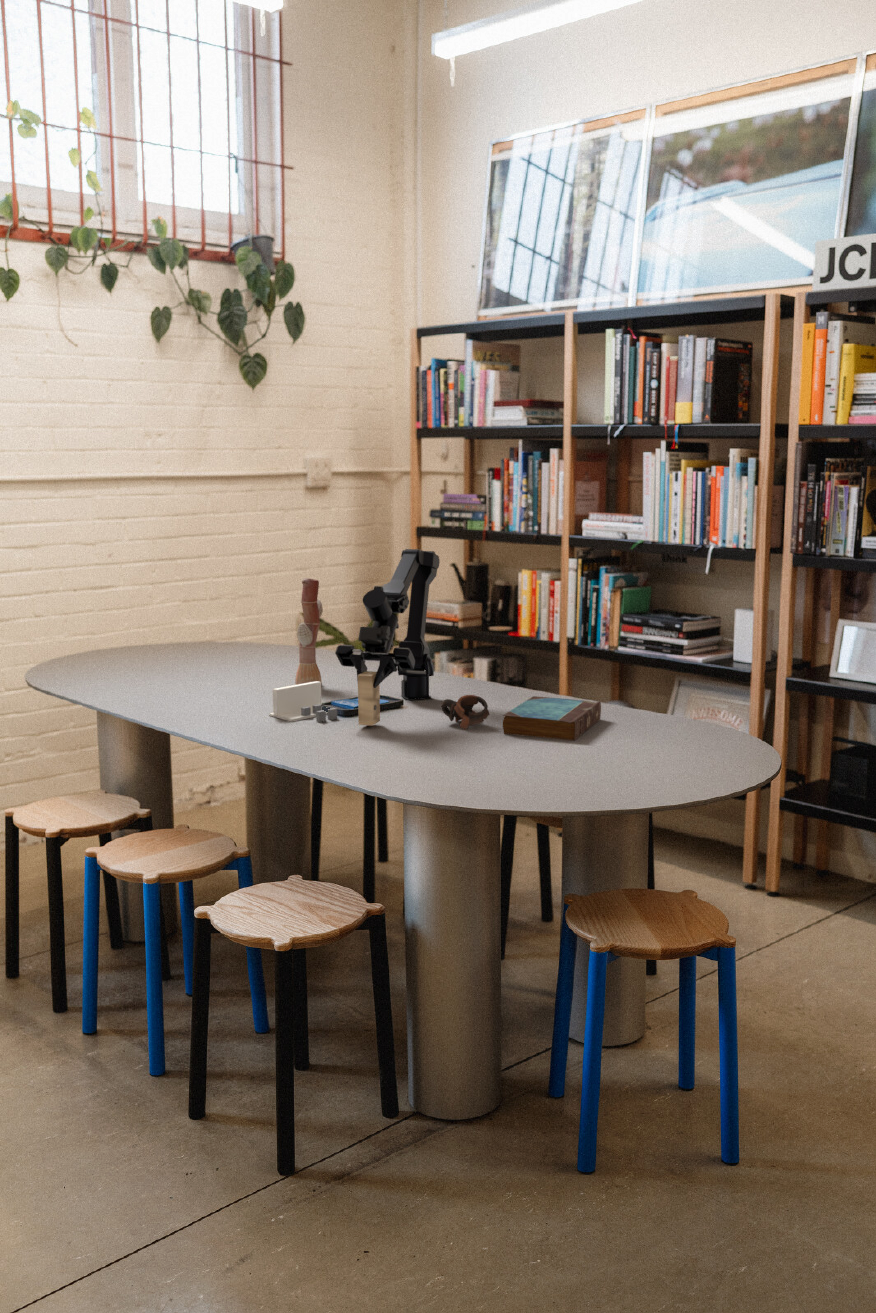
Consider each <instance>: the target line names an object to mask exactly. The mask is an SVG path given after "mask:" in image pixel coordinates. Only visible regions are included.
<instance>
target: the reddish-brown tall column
mask: <svg viewBox="0 0 876 1313" xmlns="http://www.w3.org/2000/svg"><path fill="white" fill-rule="evenodd" d="M301 583H302V591H301V592H302V593H301V601H300V602H301V606H302V607H301V608H302V614H303V622H301V623H299V625H298V627H297V630H296V631H297V632H296V637H297V639H298V642H299V643H298V651H299V652H298V653H299V656H298V658H299V664H298V667H297V669H296V674H295V681H294V682H295V684H294V685H298V684H304V683H309V682H314V681H319V682H321V686H322V685H323V682H322V676H321V671H320V669H319V666H318V663H317V659H316V658H317V657H316V654H317V652H316V644H317V640H318V639H317V638H318V634H319V630H320V625H321V620H320V618H321V617H322V615H323V612H324V611H323V604H322V601H321V600H320V599H318V595H319V588H320V581H319V579H314V578H307V577H306V578H303V579H302V581H301Z"/></svg>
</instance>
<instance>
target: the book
mask: <svg viewBox="0 0 876 1313" xmlns="http://www.w3.org/2000/svg"><path fill="white" fill-rule="evenodd" d="M502 716H503V720H502V730H503V733H504V735H511V736H512V735H514V736H524V737H534V738H535V737H536V738H546V739H557V740H567V741H574V742H575V741H577V739H579V737H581V736H582V735H583V734H585V733H586V732H587V731H589V729H591V728H592V727H593V726H594V725H595V724H597V723H598V722H599V721H600V720H601V716H602V703H601V701H597V702H595V701H590V700H583V699H570V698H561V697H560V698H559V697H549V696H548V697H547V696H535V695H533V696H531V697H530V698H528V699H527V700H524V702H522V703H520V704H519V705H517V706H515V707H514V708H513V709H510V710H509V711H507V712H506V713H504V714H503V715H502Z"/></svg>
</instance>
